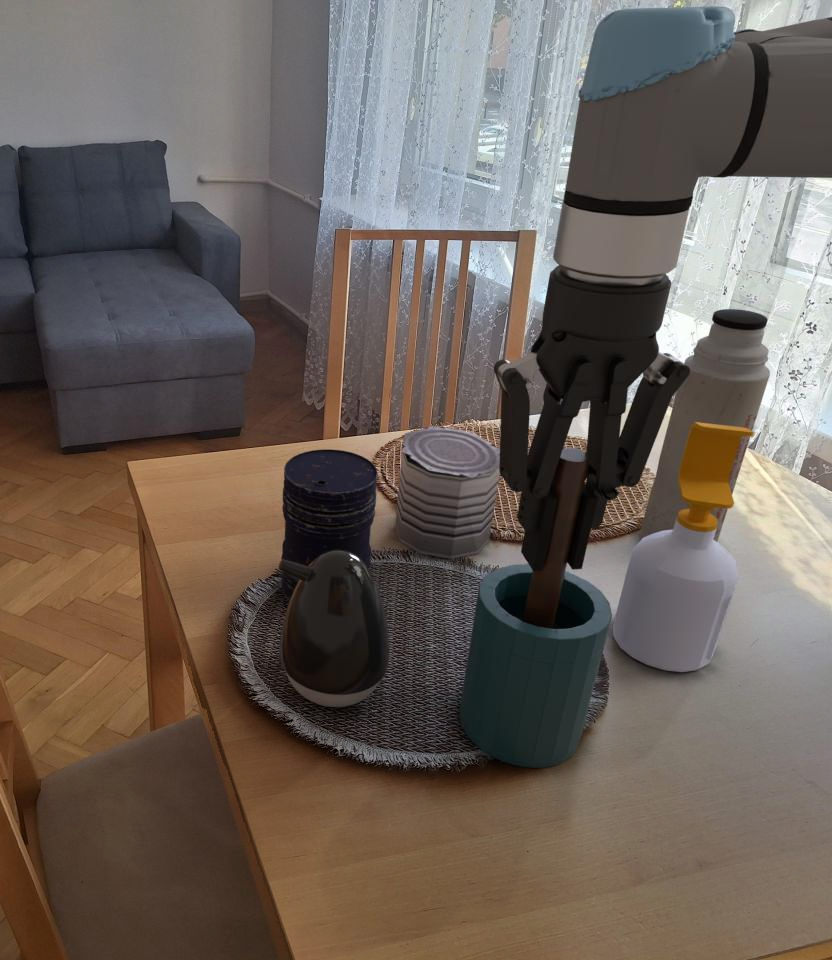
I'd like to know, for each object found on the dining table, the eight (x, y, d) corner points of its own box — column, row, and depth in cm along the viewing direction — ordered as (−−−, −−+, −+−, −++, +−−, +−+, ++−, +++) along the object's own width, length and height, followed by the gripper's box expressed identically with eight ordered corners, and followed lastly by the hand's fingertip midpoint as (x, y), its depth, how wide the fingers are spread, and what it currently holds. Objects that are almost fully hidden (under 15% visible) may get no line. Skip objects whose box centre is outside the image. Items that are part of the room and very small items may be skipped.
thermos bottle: (725, 542, 102) (798, 313, 88) (697, 569, 97) (770, 332, 84) (657, 517, 107) (716, 298, 94) (627, 541, 103) (685, 314, 89)
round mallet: (540, 674, 78) (592, 438, 66) (563, 715, 74) (623, 469, 62) (483, 676, 78) (525, 440, 66) (503, 718, 74) (551, 472, 62)
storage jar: (298, 554, 102) (301, 442, 95) (379, 573, 99) (389, 458, 91) (267, 600, 95) (268, 482, 87) (354, 623, 91) (363, 501, 84)
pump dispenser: (277, 649, 88) (279, 522, 80) (380, 653, 86) (392, 525, 79) (275, 721, 79) (278, 586, 71) (390, 727, 78) (405, 591, 70)
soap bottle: (613, 662, 84) (672, 437, 72) (610, 608, 91) (664, 396, 80) (717, 683, 81) (797, 452, 69) (705, 626, 88) (776, 408, 77)
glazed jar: (552, 683, 82) (579, 561, 75) (599, 765, 73) (634, 636, 66) (445, 687, 82) (463, 566, 75) (480, 770, 73) (503, 642, 66)
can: (438, 500, 112) (448, 417, 107) (509, 538, 104) (525, 450, 98) (374, 528, 107) (381, 442, 101) (444, 570, 99) (456, 479, 93)
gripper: (695, 251, 61) (624, 531, 72) (478, 259, 61) (441, 538, 72) (759, 280, 54) (670, 584, 66) (516, 290, 54) (469, 592, 65)
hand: (550, 559), depth 69 cm, fingers closed on round mallet, 2 cm apart
